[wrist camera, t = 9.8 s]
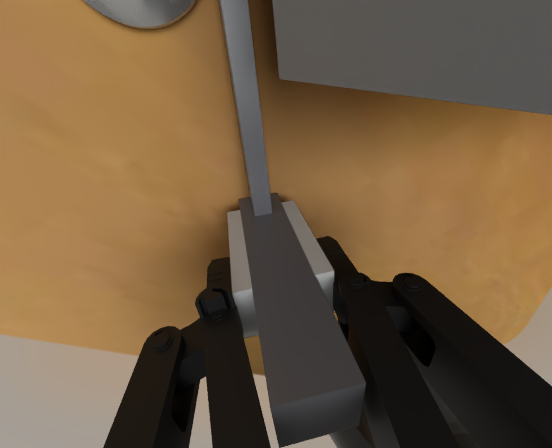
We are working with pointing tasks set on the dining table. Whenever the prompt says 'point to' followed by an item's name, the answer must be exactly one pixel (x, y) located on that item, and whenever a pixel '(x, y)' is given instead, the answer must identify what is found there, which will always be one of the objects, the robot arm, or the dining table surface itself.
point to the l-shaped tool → (286, 280)
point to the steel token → (143, 11)
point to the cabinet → (422, 48)
